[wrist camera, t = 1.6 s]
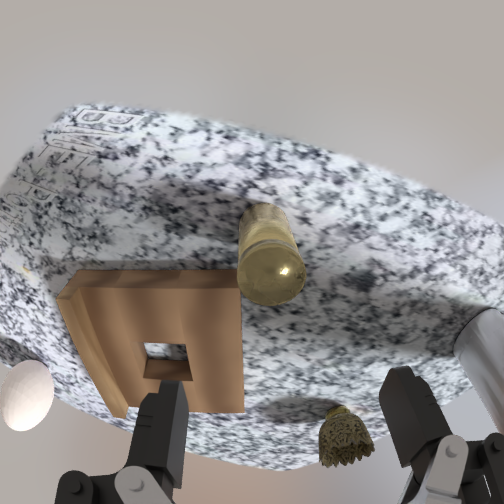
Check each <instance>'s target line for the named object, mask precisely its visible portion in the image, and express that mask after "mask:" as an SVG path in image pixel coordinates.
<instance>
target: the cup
mask: <svg viewBox="0 0 504 504" xmlns="http://www.w3.org/2000/svg"><path fill="white" fill-rule="evenodd" d="M325 420H326V421H325V422H324V423H323V424H322V426H321V428H320V431H319V462H320V461H321V462H322V465H323V466H324V465H325V466H326V467H327V468H329V467H330V466H332V464H334V466H335V467H337V466H338V464H339V461H340V463H341V464H343V465H344V466H346V465H347V463H348V462H349V463H350V464H353V463H354V461H355V457H357V459H358V460H359V461H361V459H362V456H363V455H364V456H367V457H369V456H370V455H371V451H372V452H374V451H375V449H374V444H373V441H372V439H371V437H370V435H369V432H368V430H367V428H366V426H365V424H364V423H363V421H362V420H361V419H360V418H359V417H358V416H356V415H354V414H351V413H350V410H349V409H348V408H347V407H345V406H337V407H334V408H332V409H330V410H328V411H327V413H326V415H325Z"/></svg>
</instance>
